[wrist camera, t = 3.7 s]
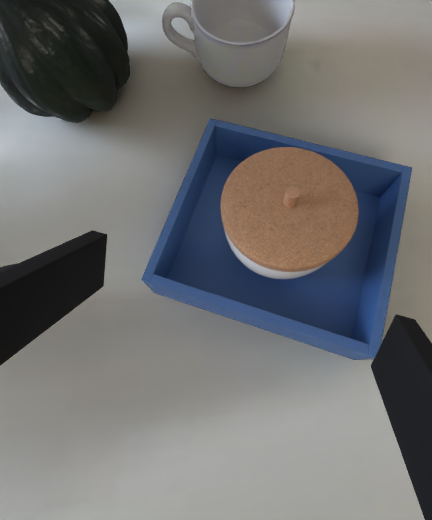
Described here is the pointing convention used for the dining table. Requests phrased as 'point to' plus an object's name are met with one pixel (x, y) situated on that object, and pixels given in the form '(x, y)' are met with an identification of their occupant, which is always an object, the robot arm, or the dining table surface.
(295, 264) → the trinket box
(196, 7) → the teacup
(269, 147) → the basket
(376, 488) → the dining table surface
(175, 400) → the dining table surface
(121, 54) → the squash
